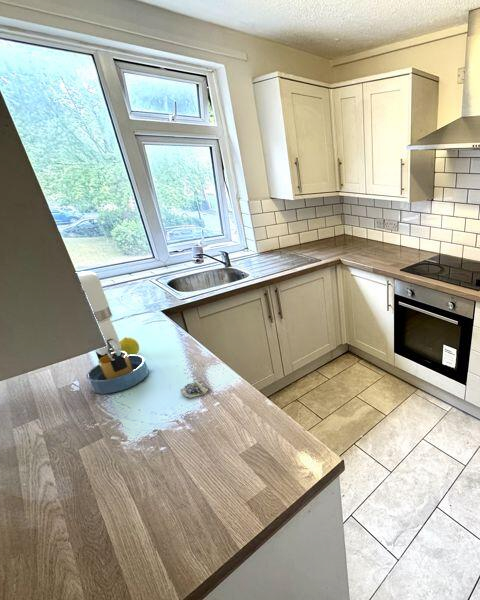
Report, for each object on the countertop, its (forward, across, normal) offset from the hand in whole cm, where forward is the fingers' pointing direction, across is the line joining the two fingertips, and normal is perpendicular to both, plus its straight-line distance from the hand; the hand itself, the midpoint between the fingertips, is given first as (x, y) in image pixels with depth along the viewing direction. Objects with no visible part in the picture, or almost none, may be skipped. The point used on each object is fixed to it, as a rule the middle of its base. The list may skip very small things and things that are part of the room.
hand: (113, 364), depth 101 cm
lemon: (+6, -12, +8) cm, 16 cm away
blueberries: (+6, +25, +10) cm, 28 cm away
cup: (+6, 0, +1) cm, 6 cm away
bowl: (+6, 0, 0) cm, 6 cm away
